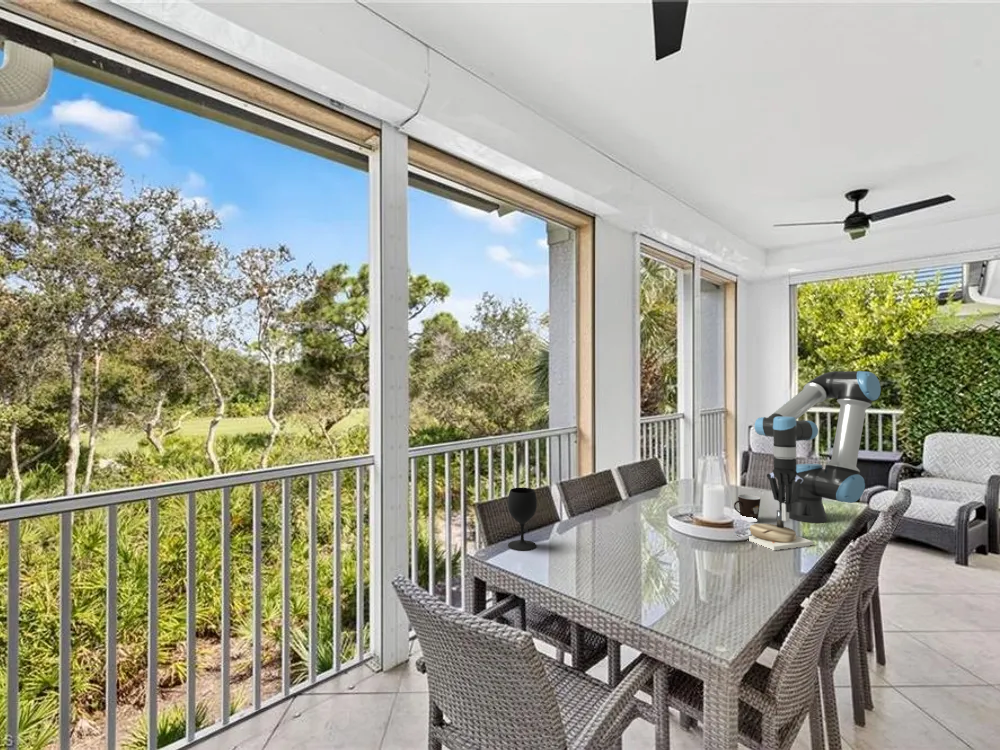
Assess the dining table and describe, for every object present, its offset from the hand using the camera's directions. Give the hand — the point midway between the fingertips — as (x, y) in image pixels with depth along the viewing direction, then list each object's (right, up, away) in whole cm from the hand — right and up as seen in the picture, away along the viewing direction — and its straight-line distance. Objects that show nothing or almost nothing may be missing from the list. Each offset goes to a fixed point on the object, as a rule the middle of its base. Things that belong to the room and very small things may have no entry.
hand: (785, 520), depth 188 cm
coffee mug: (-4, -7, +23) cm, 24 cm away
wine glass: (-100, -7, -9) cm, 100 cm away
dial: (-6, -5, -2) cm, 8 cm away
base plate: (-6, -7, -2) cm, 9 cm away
